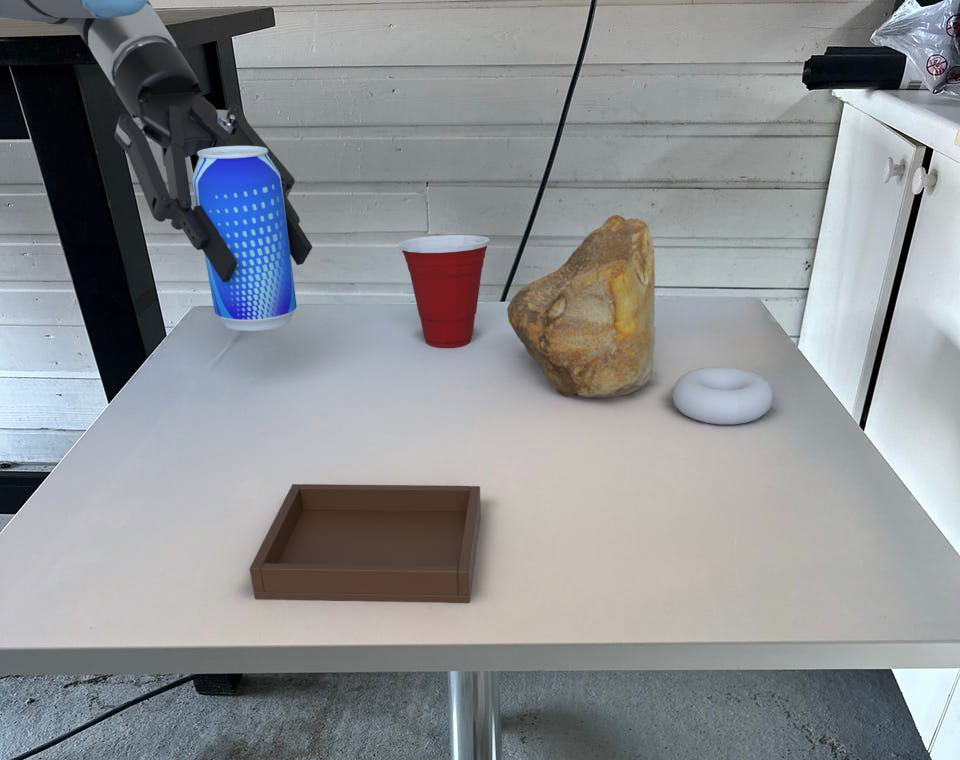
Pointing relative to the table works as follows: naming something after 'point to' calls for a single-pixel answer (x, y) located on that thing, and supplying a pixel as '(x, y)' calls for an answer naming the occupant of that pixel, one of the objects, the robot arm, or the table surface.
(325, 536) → the tray
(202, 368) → the table surface
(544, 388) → the table surface
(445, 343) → the plastic cup
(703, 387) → the donut
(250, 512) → the table surface
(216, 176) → the beer can
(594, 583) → the table surface
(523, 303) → the rough brown rock
